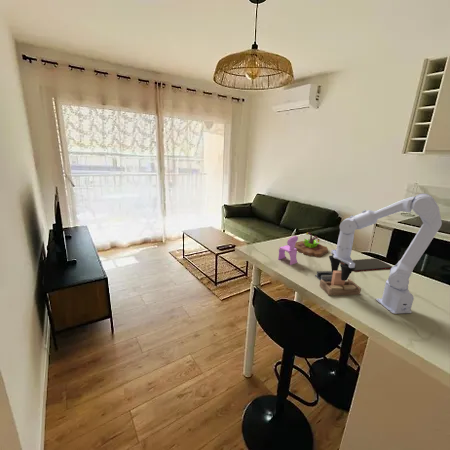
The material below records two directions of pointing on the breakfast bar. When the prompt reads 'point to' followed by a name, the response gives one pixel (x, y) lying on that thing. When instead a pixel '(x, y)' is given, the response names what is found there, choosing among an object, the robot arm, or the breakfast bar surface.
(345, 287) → the offcut
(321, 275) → the stand
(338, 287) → the offcut
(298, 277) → the breakfast bar surface
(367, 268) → the dark rectangular slab
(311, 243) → the plant
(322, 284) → the brown shallow tray
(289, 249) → the toy chair
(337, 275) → the salmon pink block
